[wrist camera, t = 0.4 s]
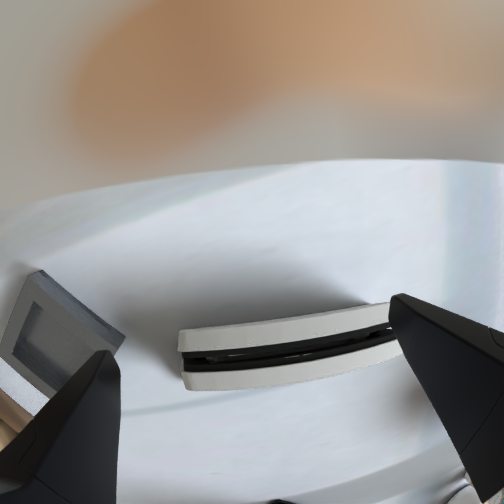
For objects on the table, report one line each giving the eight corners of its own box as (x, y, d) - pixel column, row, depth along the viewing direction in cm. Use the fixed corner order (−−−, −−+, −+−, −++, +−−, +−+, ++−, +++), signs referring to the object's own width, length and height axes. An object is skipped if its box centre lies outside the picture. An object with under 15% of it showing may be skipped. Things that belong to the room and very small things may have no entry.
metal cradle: (83, 402, 25) (74, 417, 22) (10, 343, 23) (-3, 353, 21) (125, 336, 24) (118, 349, 22) (42, 269, 23) (28, 275, 20)
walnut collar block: (30, 462, 25) (23, 474, 22) (-26, 415, 23) (-35, 425, 21) (47, 426, 25) (38, 440, 22) (-17, 372, 23) (-28, 382, 20)
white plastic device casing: (187, 382, 25) (166, 416, 16) (179, 329, 26) (154, 335, 17) (371, 354, 27) (433, 366, 17) (365, 304, 28) (426, 295, 18)
